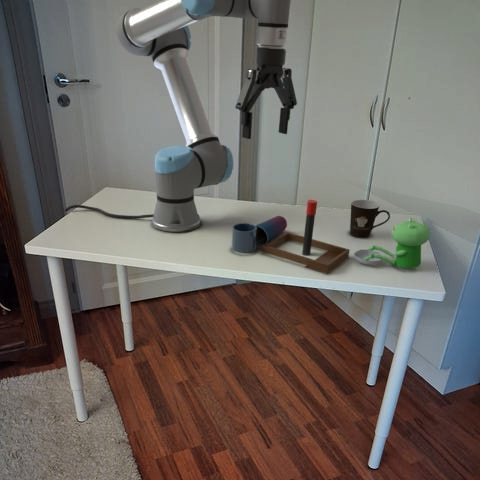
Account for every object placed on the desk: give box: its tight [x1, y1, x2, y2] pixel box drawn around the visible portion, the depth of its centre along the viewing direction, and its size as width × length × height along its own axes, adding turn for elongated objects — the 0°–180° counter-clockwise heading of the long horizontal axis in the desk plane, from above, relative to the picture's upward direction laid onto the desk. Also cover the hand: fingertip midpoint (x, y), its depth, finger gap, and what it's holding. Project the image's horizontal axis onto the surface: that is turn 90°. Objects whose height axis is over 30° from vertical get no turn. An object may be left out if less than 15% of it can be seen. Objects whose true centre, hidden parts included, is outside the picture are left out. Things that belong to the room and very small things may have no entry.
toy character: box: [360, 217, 431, 269], centre depth 131 cm, size 10×18×13 cm, turn 73°
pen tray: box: [262, 231, 351, 275], centre depth 136 cm, size 21×14×3 cm, turn 55°
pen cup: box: [231, 222, 257, 254], centre depth 137 cm, size 7×7×7 cm
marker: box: [301, 199, 318, 257], centre depth 132 cm, size 3×3×16 cm
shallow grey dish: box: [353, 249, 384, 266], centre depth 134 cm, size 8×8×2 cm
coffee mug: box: [349, 199, 391, 239], centre depth 149 cm, size 12×9×10 cm
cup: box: [254, 215, 288, 248], centre depth 144 cm, size 7×7×15 cm
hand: (265, 135), depth 131 cm, fingers open, 13 cm apart
